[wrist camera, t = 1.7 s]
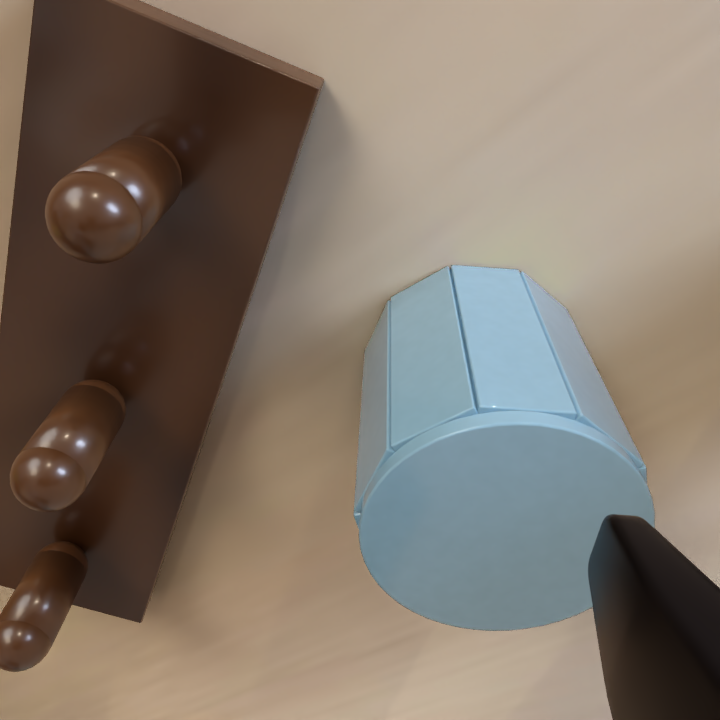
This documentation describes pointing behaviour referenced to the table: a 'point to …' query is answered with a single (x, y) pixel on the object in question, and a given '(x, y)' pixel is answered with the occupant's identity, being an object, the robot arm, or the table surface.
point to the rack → (125, 292)
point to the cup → (487, 453)
